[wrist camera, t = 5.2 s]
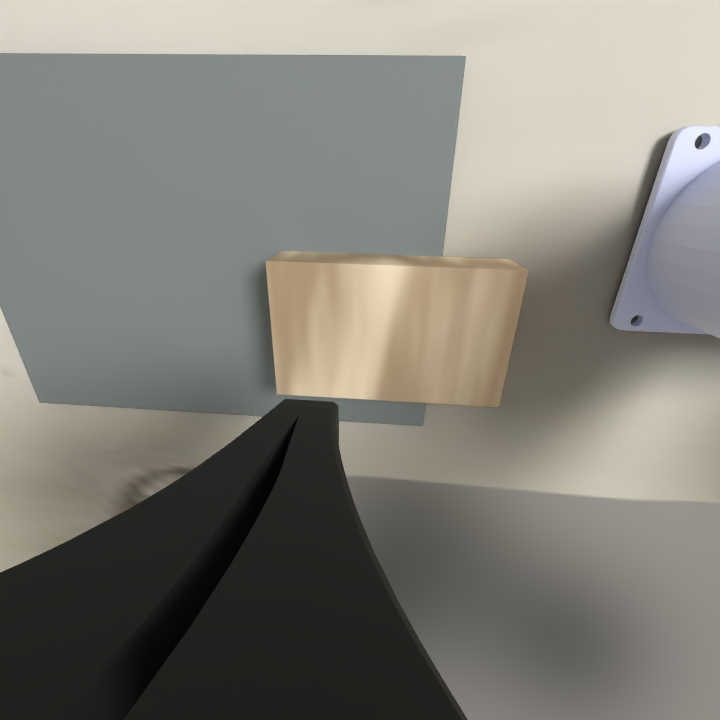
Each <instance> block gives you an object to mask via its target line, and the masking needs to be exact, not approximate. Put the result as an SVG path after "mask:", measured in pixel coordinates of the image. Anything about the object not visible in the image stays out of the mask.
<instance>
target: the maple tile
mask: <svg viewBox="0 0 720 720" xmlns="http://www.w3.org/2000/svg"><path fill="white" fill-rule="evenodd" d="M266 271H267V283H268V294H269V306H270V318H271V330H272V341H273V353H274V365H275V376H276V388H277V394H280V395H297V396H315V397H332V398H349V399H366V400H384V401H401V402H418V403H435V404H453V405H470V406H487V407H499V405H500V401H501V396H502V392H503V387H504V383H505V378H506V373H507V369H508V364H509V360H510V355H511V351H512V346H513V341H514V337H515V332H516V328H517V323H518V319H519V314H520V310H521V305H522V300H523V296H524V291H525V287H526V282H527V278H528V273H529V270H527V269H525V268H524V267H522V266H520V265H518V264H517V263H515V262H513V261H512V260H510V259H494V258H466V257H438V256H411V255H383V254H355V253H327V252H299V251H282V252H280V253H278V254H276V255H275V256H273V257H271V258H270V259H268V260H266Z"/></svg>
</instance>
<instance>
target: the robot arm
mask: <svg viewBox="0 0 720 720" xmlns="http://www.w3.org/2000/svg"><path fill="white" fill-rule="evenodd" d="M699 135H701V137H702V143H701V145H700V147H699V148H697V149H696V147H695V146H694V145H695V140H696V139H697V137H698V136H699ZM637 315H638V319H637V320H636V321H635V322H634V323H631V319H632V318H633V317H635V316H637ZM609 322H610V324H611V325H612V326H613V327H614V328H616V329H618V330H625V331H647V332H669V333H691V334H711V335H713V336H715V337H717V338H720V126H694V125H693V126H688V127H683V128H680V129H678V130H677V131H675V132H674V133H673V134H672V135H671V137H670V139H669V141H668V143H667V146H666V149H665V152H664V155H663V158H662V161H661V164H660V167H659V170H658V173H657V176H656V179H655V182H654V185H653V189H652V192H651V195H650V198H649V201H648V204H647V207H646V210H645V213H644V216H643V219H642V222H641V225H640V228H639V231H638V234H637V237H636V240H635V243H634V246H633V249H632V252H631V255H630V258H629V261H628V264H627V267H626V270H625V273H624V276H623V279H622V282H621V285H620V288H619V291H618V294H617V297H616V300H615V303H614V306H613V309H612V312H611V315H610V321H609ZM0 720H467V718H466V716H465V715H464V713H463V711H462V710H461V708H460V706H459V705H458V703H457V702H456V700H455V698H454V697H453V696H452V693H451V692H450V690H449V689H448V687H447V685H446V684H445V682H444V680H443V679H442V678H441V676H440V674H439V672H438V670H437V669H436V667H435V666H434V664H433V662H432V660H431V659H430V657H429V655H428V654H427V652H426V650H425V648H424V647H423V645H422V643H421V642H420V640H419V638H418V636H417V634H416V633H415V631H414V629H413V627H412V625H411V624H410V622H409V620H408V618H407V616H406V615H405V613H404V611H403V609H402V608H401V606H400V604H399V602H398V600H397V598H396V596H395V594H394V592H393V590H392V588H391V586H390V584H389V582H388V579H387V578H386V575H385V573H384V572H383V569H382V567H381V565H380V563H379V561H378V559H377V557H376V555H375V553H374V551H373V549H372V547H371V544H370V542H369V539H368V537H367V535H366V532H365V530H364V527H363V525H362V523H361V520H360V517H359V515H358V512H357V510H356V507H355V504H354V501H353V499H352V495H351V492H350V489H349V486H348V482H347V479H346V475H345V472H344V468H343V464H342V460H341V455H340V450H339V406H338V405H337V404H336V403H335V402H330V401H314V400H298V399H284V400H283V401H282V402H280V403H279V404H278V405H277V406H275V407H274V408H273V409H272V410H271V411H269V412H268V413H267V414H266V415H265V416H263V417H262V418H261V419H260V420H258V421H257V422H256V423H255V424H254V425H252V426H251V427H250V428H249V429H247V430H246V431H245V432H243V433H242V434H241V435H240V436H238V437H237V438H236V439H235V440H233V441H232V442H231V443H230V444H228V445H227V446H225V447H224V448H223V449H221V450H220V451H218V452H217V453H216V454H214V455H213V456H211V457H210V458H209V459H207V460H206V461H204V462H203V463H202V464H200V465H199V466H197V467H196V468H195V469H193V470H192V471H190V472H189V473H187V474H186V475H184V476H183V477H181V478H180V479H178V480H177V481H175V482H173V483H172V484H170V485H169V486H167V487H165V488H164V489H162V490H160V491H159V492H157V493H155V494H154V495H152V496H150V497H149V498H147V499H145V500H144V501H142V502H140V503H139V504H137V505H135V506H133V507H132V508H130V509H128V510H126V511H124V512H122V513H121V514H119V515H117V516H115V517H113V518H111V519H109V520H107V521H105V522H103V523H102V524H100V525H98V526H96V527H94V528H92V529H90V530H88V531H86V532H84V533H82V534H81V535H79V536H77V537H75V538H73V539H71V540H69V541H67V542H65V543H63V544H61V545H59V546H57V547H55V548H53V549H51V550H48V551H46V552H44V553H42V554H40V555H38V556H36V557H34V558H32V559H29V560H27V561H25V562H23V563H21V564H19V565H17V566H14V567H12V568H10V569H8V570H5V571H3V572H1V573H0Z"/></svg>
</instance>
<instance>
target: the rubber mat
mask: <svg viewBox="0 0 720 720" xmlns="http://www.w3.org/2000/svg"><path fill="white" fill-rule="evenodd" d="M465 60H466V56H389V55H208V54H27V53H0V307H1V310H2V312H3V315H4V317H5V319H6V322H7V324H8V327H9V329H10V332H11V334H12V336H13V339H14V341H15V344H16V346H17V349H18V351H19V353H20V356H21V358H22V361H23V363H24V366H25V368H26V370H27V373H28V375H29V378H30V380H31V383H32V385H33V387H34V390H35V392H36V395H37V397H38V400H39V402H40V403H56V404H73V405H89V406H105V407H121V408H138V409H154V410H170V411H186V412H203V413H219V414H235V415H251V416H265V415H266V414H267V413H268V412H269V411H271V410H272V409H273V408H274V407H275V406H277V405H278V404H279V403H280V402H282V401H283V400H284V399H298V400H314V401H330V402H335V403H336V404H337V405H338V406H339V421H349V422H365V423H381V424H398V425H414V426H423V419H424V410H425V403H418V402H401V401H384V400H366V399H349V398H332V397H315V396H297V395H280V394H277V388H276V376H275V365H274V353H273V341H272V330H271V318H270V306H269V294H268V283H267V271H266V260H268V259H270V258H271V257H273V256H275V255H276V254H278V253H280V252H282V251H299V252H327V253H355V254H383V255H411V256H438V257H442V256H443V248H444V239H445V231H446V222H447V214H448V205H449V197H450V188H451V179H452V171H453V162H454V154H455V145H456V137H457V128H458V120H459V111H460V102H461V94H462V85H463V77H464V68H465Z"/></svg>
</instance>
